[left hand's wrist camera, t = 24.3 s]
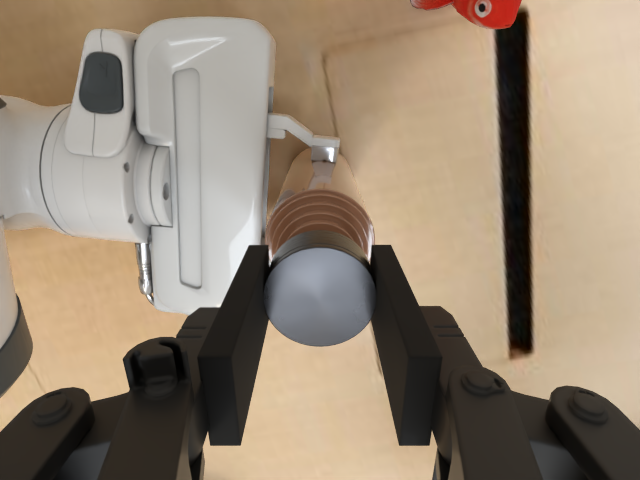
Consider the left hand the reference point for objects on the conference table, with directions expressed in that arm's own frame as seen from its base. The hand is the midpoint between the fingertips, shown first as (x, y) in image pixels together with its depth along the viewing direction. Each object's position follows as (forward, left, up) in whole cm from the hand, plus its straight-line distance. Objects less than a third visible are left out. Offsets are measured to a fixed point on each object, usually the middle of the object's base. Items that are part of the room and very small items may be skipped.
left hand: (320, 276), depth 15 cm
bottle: (0, 0, -18) cm, 18 cm away
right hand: (-1, 0, -12) cm, 12 cm away
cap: (0, 0, +1) cm, 1 cm away
